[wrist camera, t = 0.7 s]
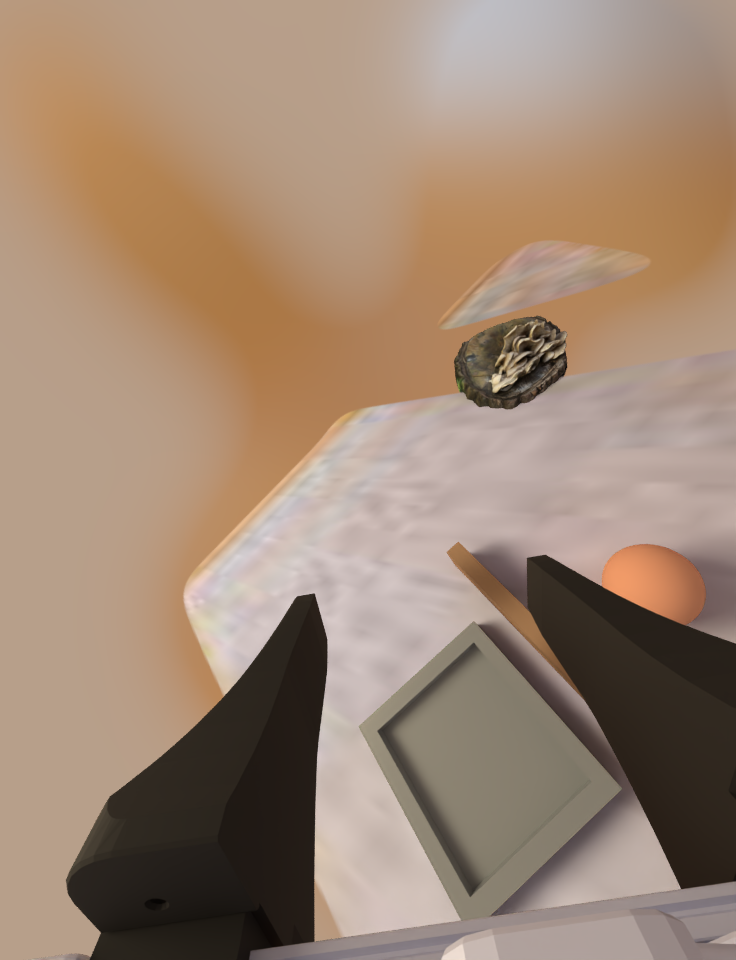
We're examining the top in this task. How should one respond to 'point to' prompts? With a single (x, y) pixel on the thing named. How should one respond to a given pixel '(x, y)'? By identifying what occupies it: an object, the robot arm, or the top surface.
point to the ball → (656, 581)
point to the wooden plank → (506, 605)
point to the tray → (484, 772)
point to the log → (511, 362)
